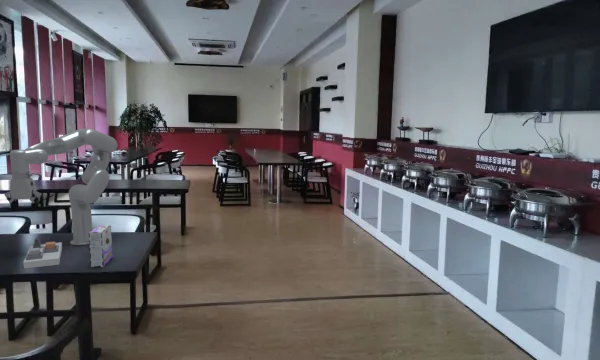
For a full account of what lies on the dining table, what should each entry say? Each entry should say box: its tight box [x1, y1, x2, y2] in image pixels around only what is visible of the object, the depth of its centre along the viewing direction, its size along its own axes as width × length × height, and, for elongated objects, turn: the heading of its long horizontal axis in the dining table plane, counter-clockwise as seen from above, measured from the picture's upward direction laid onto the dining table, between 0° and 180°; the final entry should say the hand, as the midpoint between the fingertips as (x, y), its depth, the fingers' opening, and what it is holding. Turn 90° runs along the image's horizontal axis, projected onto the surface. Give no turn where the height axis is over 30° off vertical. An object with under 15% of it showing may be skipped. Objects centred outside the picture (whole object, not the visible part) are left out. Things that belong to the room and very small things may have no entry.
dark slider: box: [33, 237, 42, 248], centre depth 227 cm, size 3×5×4 cm, turn 25°
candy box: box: [88, 224, 114, 268], centre depth 212 cm, size 14×6×16 cm, turn 5°
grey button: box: [28, 248, 40, 256], centre depth 211 cm, size 4×4×2 cm
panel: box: [22, 242, 63, 270], centre depth 221 cm, size 14×30×5 cm, turn 25°
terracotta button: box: [44, 241, 57, 249], centre depth 221 cm, size 4×4×2 cm
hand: (24, 210), depth 222 cm, fingers open, 9 cm apart
